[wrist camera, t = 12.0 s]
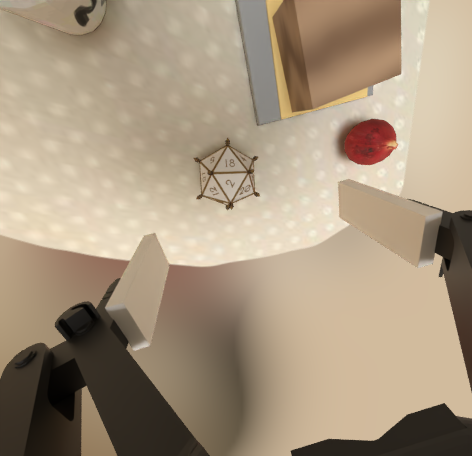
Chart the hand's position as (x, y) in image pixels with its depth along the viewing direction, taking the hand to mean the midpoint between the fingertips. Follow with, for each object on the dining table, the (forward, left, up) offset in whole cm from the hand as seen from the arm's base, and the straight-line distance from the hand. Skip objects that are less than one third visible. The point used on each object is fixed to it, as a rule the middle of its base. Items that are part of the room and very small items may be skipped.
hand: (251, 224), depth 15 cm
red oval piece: (0, +20, -19) cm, 28 cm away
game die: (0, 0, -19) cm, 19 cm away
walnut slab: (-11, +15, -18) cm, 26 cm away
